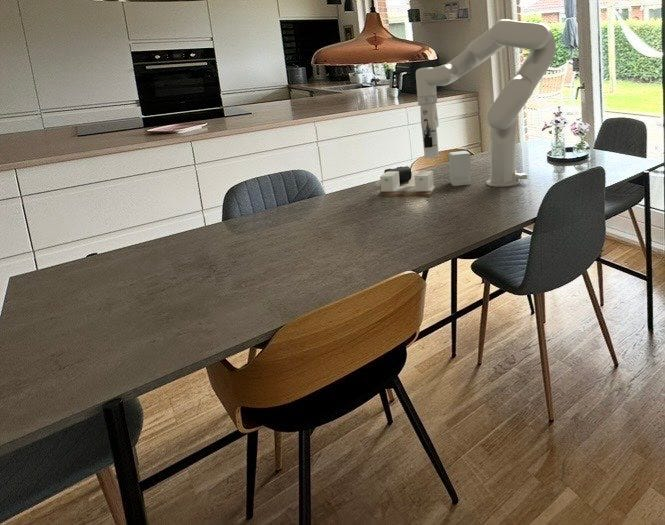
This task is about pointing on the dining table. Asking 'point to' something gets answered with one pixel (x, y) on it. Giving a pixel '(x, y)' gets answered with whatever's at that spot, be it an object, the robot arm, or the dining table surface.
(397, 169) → the end cap
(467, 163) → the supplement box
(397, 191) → the rail board
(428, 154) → the syrup box
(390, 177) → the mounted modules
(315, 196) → the dining table surface
